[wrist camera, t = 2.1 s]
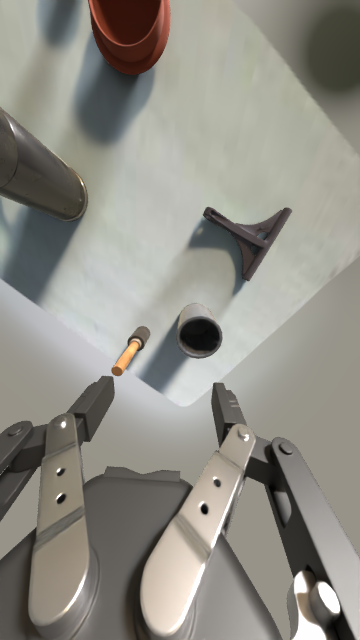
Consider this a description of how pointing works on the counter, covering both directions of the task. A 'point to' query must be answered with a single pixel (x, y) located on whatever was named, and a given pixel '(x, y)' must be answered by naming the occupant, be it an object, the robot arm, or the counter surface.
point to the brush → (131, 349)
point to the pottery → (130, 32)
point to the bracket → (251, 236)
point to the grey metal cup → (198, 332)
